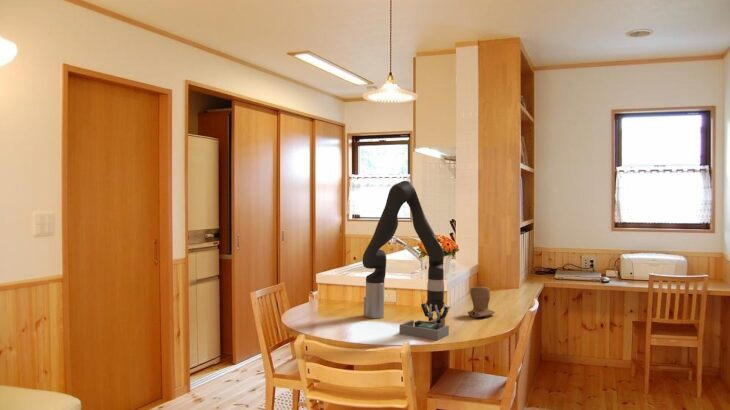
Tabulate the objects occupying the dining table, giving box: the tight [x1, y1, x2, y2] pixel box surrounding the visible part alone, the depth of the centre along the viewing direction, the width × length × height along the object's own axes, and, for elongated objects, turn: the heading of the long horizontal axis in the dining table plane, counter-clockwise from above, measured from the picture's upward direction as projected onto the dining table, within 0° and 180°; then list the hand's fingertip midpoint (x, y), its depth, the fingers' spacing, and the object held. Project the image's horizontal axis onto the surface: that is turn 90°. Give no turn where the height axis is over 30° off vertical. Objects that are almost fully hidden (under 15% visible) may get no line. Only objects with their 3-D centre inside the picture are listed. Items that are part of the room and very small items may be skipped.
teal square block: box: [418, 323, 436, 330], centre depth 252 cm, size 6×6×4 cm
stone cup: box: [467, 286, 496, 318], centre depth 291 cm, size 15×12×15 cm
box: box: [398, 319, 450, 341], centre depth 251 cm, size 18×11×4 cm, turn 58°
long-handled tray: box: [414, 317, 446, 330], centre depth 259 cm, size 12×16×4 cm
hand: (434, 326), depth 260 cm, fingers closed on long-handled tray, 3 cm apart
